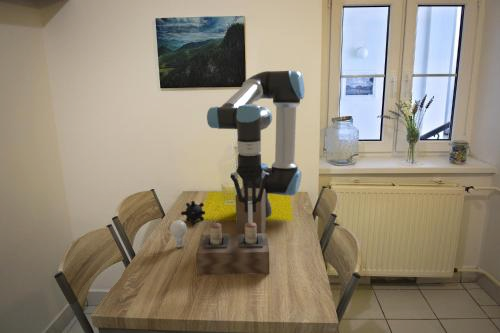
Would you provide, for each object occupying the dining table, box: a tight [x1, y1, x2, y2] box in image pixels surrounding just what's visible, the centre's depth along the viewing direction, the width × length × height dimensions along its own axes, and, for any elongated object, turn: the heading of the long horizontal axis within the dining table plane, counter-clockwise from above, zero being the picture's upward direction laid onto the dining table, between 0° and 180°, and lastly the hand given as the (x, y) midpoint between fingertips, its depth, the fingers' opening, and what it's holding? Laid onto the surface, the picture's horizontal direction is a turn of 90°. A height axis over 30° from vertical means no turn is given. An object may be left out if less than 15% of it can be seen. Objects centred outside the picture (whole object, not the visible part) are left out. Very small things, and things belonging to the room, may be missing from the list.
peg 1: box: [209, 222, 223, 245], centre depth 128 cm, size 4×4×8 cm
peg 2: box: [245, 222, 257, 244], centre depth 128 cm, size 4×4×8 cm
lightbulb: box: [169, 219, 188, 249], centre depth 142 cm, size 6×6×11 cm
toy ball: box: [180, 200, 206, 226], centre depth 166 cm, size 11×11×12 cm
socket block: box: [195, 232, 270, 276], centre depth 130 cm, size 24×14×9 cm, turn 90°
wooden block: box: [235, 187, 267, 234], centre depth 146 cm, size 10×10×20 cm
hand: (250, 220), depth 127 cm, fingers closed
